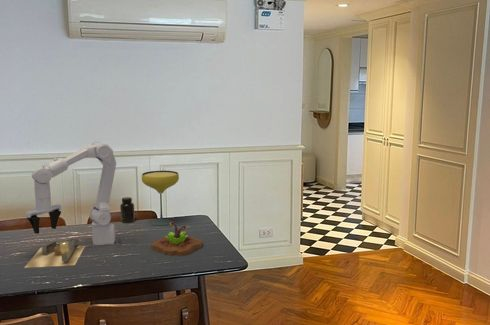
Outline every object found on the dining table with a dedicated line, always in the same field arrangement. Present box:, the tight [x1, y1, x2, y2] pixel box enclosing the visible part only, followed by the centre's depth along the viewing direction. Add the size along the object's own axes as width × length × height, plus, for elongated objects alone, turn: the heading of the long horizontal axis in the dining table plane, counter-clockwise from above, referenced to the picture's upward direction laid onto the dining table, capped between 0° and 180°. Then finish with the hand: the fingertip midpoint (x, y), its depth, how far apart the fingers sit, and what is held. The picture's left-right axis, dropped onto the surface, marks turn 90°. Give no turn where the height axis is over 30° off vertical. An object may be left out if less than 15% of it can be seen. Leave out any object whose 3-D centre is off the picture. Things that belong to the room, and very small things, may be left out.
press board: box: [24, 245, 86, 269], centre depth 187 cm, size 18×22×1 cm
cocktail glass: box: [141, 170, 180, 227], centre depth 235 cm, size 18×18×25 cm
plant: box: [150, 221, 203, 257], centre depth 200 cm, size 20×20×11 cm
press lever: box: [59, 237, 79, 261], centre depth 187 cm, size 19×4×7 cm, turn 9°
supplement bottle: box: [119, 196, 136, 224], centre depth 238 cm, size 7×7×12 cm
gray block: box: [41, 240, 57, 256], centre depth 190 cm, size 2×6×4 cm, turn 164°
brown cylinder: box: [54, 244, 62, 256], centre depth 189 cm, size 4×4×3 cm
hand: (45, 230), depth 189 cm, fingers open, 7 cm apart
